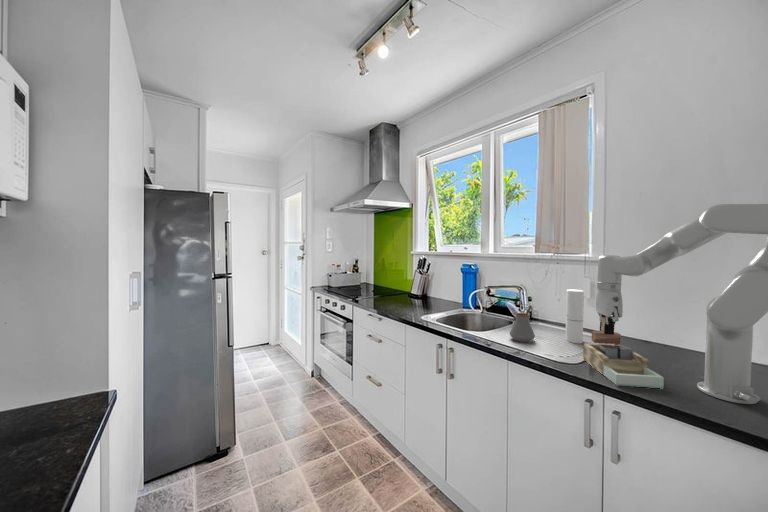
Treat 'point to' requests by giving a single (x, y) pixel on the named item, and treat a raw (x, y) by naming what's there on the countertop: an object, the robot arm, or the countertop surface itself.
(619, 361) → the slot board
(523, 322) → the coffee pot
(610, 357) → the blue-grey cube
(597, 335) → the wooden t-shaped piece
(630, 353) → the blue-grey cube
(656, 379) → the tray
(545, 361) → the countertop surface
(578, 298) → the cylindrical container
